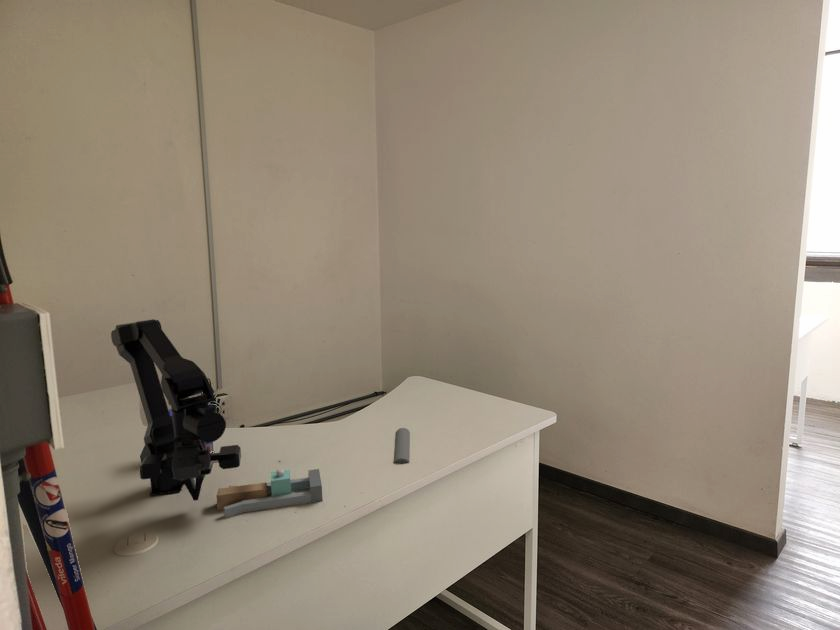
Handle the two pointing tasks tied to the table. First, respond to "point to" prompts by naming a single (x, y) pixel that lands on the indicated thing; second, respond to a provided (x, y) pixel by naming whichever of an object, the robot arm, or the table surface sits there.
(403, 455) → the gray half cylinder
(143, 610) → the table surface
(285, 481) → the block
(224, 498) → the batten
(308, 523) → the table surface
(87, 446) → the table surface
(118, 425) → the table surface
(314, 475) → the guide
